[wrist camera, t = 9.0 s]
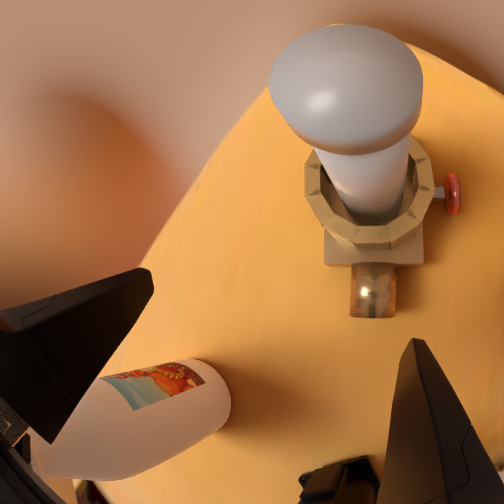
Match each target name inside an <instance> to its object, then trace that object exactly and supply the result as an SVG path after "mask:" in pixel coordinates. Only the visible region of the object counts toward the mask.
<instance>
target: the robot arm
mask: <svg viewBox="0 0 504 504" xmlns="http://www.w3.org/2000/svg"><path fill="white" fill-rule="evenodd" d="M153 293H154V285H153V280H152V275H151V272H150V270H148V269H145V268H141V267H140V268H136V269H133V270H130V271H127V272H124V273H121V274H117V275H114V276H111V277H108V278H105V279H102V280H99V281H96V282H92V283H89V284H87V285H83V286H80V287H77V288H74V289H71V290H68V291H65V292H62V293H59V294H57V295H53V296H50V297H47V298H43V299H41V300H37V301H34V302H30V303H26V304H23V305H19V306H15V307H11V308H8V309H3V310H0V504H67V503H66V502H65V501H63V500H62V499H61V498H60V497H59V496H58V495H57V494H56V493H55V492H54V491H53V490H52V489H51V488H49V487H48V485H46V484H45V482H44V481H43V480H42V479H41V478H40V477H39V476H38V475H37V474H36V473H35V472H34V471H33V470H32V469H31V468H30V467H29V465H28V464H29V463H30V462H31V446H30V435H29V434H28V433H27V431H28V430H29V429H30V428H32V429H33V430H34V431H35V432H36V433H37V434H38V435H40V436H41V437H42V438H43V439H44V440H45V441H46V442H48V443H49V444H50V445H51V444H52V443H53V442H54V441H55V439H56V437H57V436H58V434H59V433H60V431H61V430H62V428H63V426H64V425H65V423H66V422H67V420H68V419H69V417H70V416H71V414H72V413H73V411H74V410H75V408H76V406H77V405H78V403H79V402H80V400H81V399H82V398H83V396H84V395H85V393H86V392H87V390H88V389H89V387H90V386H91V384H92V383H93V382H94V380H95V379H96V377H97V376H98V374H99V373H100V372H101V370H102V369H103V367H104V366H105V364H106V363H107V362H108V360H109V359H110V357H111V356H112V355H113V353H114V352H115V351H116V349H117V348H118V346H119V345H120V344H121V342H122V341H123V340H124V338H125V337H126V336H127V334H128V333H129V331H130V330H131V329H132V327H133V326H134V324H135V323H136V321H137V320H138V318H139V316H140V315H141V313H142V311H143V310H144V308H145V306H146V305H147V303H148V301H149V300H150V298H151V297H152V295H153ZM361 461H365V463H361ZM303 478H305V479H306V480H304V479H303ZM299 482H300V484H301V486H302V487H303V491H302V493H301V494H300V496H299V497H300V501H299V503H298V504H504V484H503V482H502V480H501V478H500V476H499V474H498V472H497V471H496V469H495V467H494V465H493V464H492V462H491V460H490V458H489V456H488V455H487V453H486V451H485V449H484V447H483V445H482V443H481V441H480V439H479V437H478V435H477V433H476V431H475V429H474V427H473V425H471V421H470V419H469V418H468V416H467V414H466V412H465V410H464V408H463V406H462V404H461V402H460V400H459V399H458V397H457V395H456V393H455V391H454V389H453V388H452V386H451V384H450V382H449V381H448V379H447V377H446V375H445V374H444V372H443V370H442V369H441V367H440V365H439V364H438V362H437V360H436V359H435V357H434V355H433V354H432V352H431V350H430V349H429V347H428V346H427V344H426V342H425V341H424V340H422V339H417V338H412V339H411V340H410V341H409V343H408V345H407V347H406V349H405V350H404V352H403V354H402V356H401V359H400V363H399V370H398V376H397V382H396V387H395V392H394V398H393V403H392V410H391V420H390V429H389V437H388V444H387V450H386V457H385V463H384V468H383V474H382V479H381V481H380V479H379V477H378V475H377V473H376V471H375V469H374V467H373V465H372V463H371V461H370V459H369V458H368V457H366V456H361V457H359V458H356V459H353V460H350V461H347V462H344V463H341V462H340V463H336V464H333V465H330V466H326V467H323V468H320V469H316V470H314V472H310V473H306V474H302V475H301V476H300V477H299Z"/></svg>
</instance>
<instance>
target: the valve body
mask: <svg viewBox="0 0 504 504" xmlns="http://www.w3.org/2000/svg"><path fill="white" fill-rule="evenodd" d="M444 191H445V192H444ZM305 198H306V200H307V201H308V203H309V205H310V206H311V208H312V210H313V211H314V213H315V215H316V216H317V218H318V220H319V222H320V223H321V225H322V226H323V227H324V228H325V231H324V264H325V265H328V266H351V297H350V316H351V317H359V318H392V317H395V310H396V286H397V266H421V265H422V264H424V247H423V225H422V220H423V218H424V216H425V214H426V211H427V209H428V207H429V205H430V202H431V201H444V199H446V208H447V212H448V214H449V215H458V214H459V211H460V205H461V192H460V185H459V180H458V177H457V175H456V174H455V173H446V175H445V180H444V187H435V186H434V179H433V173H432V166H431V160H430V158H429V156H428V154H427V153H426V152H425V150H424V149H423V148H422V147H421V145H420V144H419V143H418V142H417V141H416V139H415V138H414V137H413V136H412V135H411V133H410V144H409V155H408V164H407V172H406V180H405V187H404V194H403V200H402V204H401V207H400V209H399V210H398V212H397V213H396V214H395V215H394V216H393V217H392V218H391V219H389V220H388V221H385V222H383V223H379V224H367V223H363V222H360V221H358V220H357V219H355V218H354V217H352V216H351V215H350V214H349V213H348V211H347V210H346V208H345V207H344V205H343V203H342V201H341V199H340V197H339V195H338V193H337V191H336V189H335V187H334V185H333V183H332V181H331V179H330V177H329V176H328V174H327V172H326V170H325V168H324V166H323V164H322V163H321V161H320V159H319V157H318V155H317V154H316V152H315V150H314V149H313V151H312V153H311V154H310V156H309V158H308V160H307V161H306V163H305Z"/></svg>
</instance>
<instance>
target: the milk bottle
mask: <svg viewBox="0 0 504 504" xmlns="http://www.w3.org/2000/svg"><path fill="white" fill-rule="evenodd" d="M230 411H231V396H230V393H229V389H228V387H227V385H226V382H225V381H224V380H223V378H222V376H221V375H220V374H219V373H218V372H217V371H216V370H215V369H214V368H212V367H211V366H210V365H208V364H206V363H204V362H202V361H199V360H196V359H183V360H178V361H174V362H170V363H165V364H161V365H157V366H152V367H148V368H143V369H138V370H134V371H129V372H124V373H120V374H115V375H110V376H105V377H101V378H96V379H95V380H94V382H93V383H92V384H91V386H90V387H89V389H88V390H87V392H86V393H85V395H84V396H83V398H82V399H81V400H80V402H79V403H78V405H77V406H76V408H75V410H74V411H73V413H72V414H71V416H70V417H69V419H68V420H67V422H66V423H65V425H64V426H63V428H62V430H61V431H60V433H59V434H58V436H57V437H56V439H55V441H54V442H53V443H52V444H51V445H50V444H49V443H48V442H46V441H45V440H44V439H43V438H42V437H41V436H40V435H38V434H37V433H36V432H35V431H34V430H33V429H32V428H30V429H29V430H28V431H27V433H28V434H29V435H30V446H31V462H30V463H29V464H28V465H29V467H30V468H31V469H32V470H33V471H34V472H35V473H36V474H37V475H38V476H39V477H40V478H41V479H42V480H43V481H46V480H49V479H56V478H69V479H85V480H94V481H115V480H121V479H125V478H129V477H132V476H135V475H137V474H139V473H142V472H144V471H146V470H148V469H151V468H153V467H155V466H157V465H159V464H161V463H163V462H164V461H166V460H168V459H170V458H172V457H174V456H176V455H177V454H179V453H181V452H183V451H184V450H186V449H188V448H190V447H191V446H193V445H195V444H196V443H198V442H200V441H201V440H203V439H205V438H206V437H208V436H209V435H211V434H212V433H214V432H215V431H217V430H218V429H220V428H221V427H222V426H223V425H224V424H225V423H226V421H227V420H228V417H229V415H230Z"/></svg>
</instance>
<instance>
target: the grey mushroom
mask: <svg viewBox="0 0 504 504" xmlns="http://www.w3.org/2000/svg"><path fill="white" fill-rule="evenodd" d="M269 91H270V95H271V98H272V100H273V102H274V104H275V106H276V107H277V109H278V110H279V112H280V113H281V114H282V116H283V117H284V119H285V120H286V122H287V123H288V125H289V126H290V128H291V129H292V130H293V132H294V133H295V134H296V135H297V136H298V137H299V138H301V139H302V140H303V141H305V142H306V143H308V144H310V145H311V146H313V148H314V150H315V152H316V154H317V155H318V157H319V159H320V161H321V163H322V164H323V166H324V168H325V170H326V172H327V174H328V176H329V177H330V179H331V181H332V183H333V185H334V187H335V189H336V191H337V193H338V195H339V197H340V199H341V201H342V203H343V205H344V207H345V208H346V210H347V211H348V213H349V214H350V215H351V216H352V217H354V218H355V219H357V220H358V221H360V222H363V223H367V224H379V223H383V222H385V221H388V220H389V219H391V218H392V217H393V216H394V215H395V214H396V213H397V212H398V210H399V209H400V207H401V204H402V200H403V194H404V187H405V180H406V172H407V164H408V155H409V144H410V132H411V130H412V129H413V128H414V126H415V124H416V123H417V121H418V118H419V116H420V112H421V106H422V93H423V74H422V69H421V66H420V64H419V61H418V60H417V58H416V56H415V55H414V53H413V52H412V51H411V50H410V49H409V48H408V47H407V46H406V45H405V44H404V43H403V42H402V41H400V40H399V39H397V38H396V37H394V36H392V35H391V34H389V33H386V32H384V31H382V30H379V29H376V28H372V27H368V26H362V25H350V24H346V25H334V26H328V27H324V28H320V29H317V30H314V31H311V32H309V33H307V34H305V35H303V36H301V37H299V38H298V39H296V40H295V41H293V42H292V43H291V44H289V45H288V46H287V47H286V48H285V49H284V50H283V51H282V52H281V53H280V55H279V56H278V58H277V59H276V60H275V63H274V64H273V66H272V69H271V72H270V76H269Z"/></svg>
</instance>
